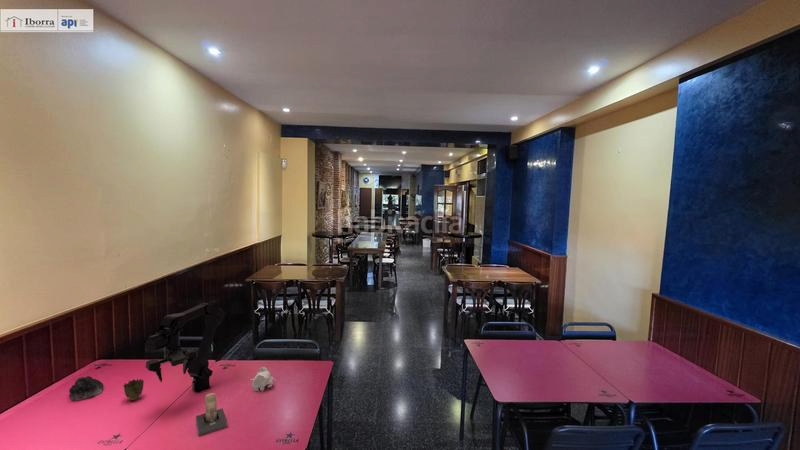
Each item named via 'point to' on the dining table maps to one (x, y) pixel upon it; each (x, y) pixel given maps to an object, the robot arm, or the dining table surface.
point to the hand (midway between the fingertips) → (172, 377)
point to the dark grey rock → (85, 388)
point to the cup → (133, 389)
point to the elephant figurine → (262, 379)
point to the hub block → (210, 427)
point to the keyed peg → (210, 408)
